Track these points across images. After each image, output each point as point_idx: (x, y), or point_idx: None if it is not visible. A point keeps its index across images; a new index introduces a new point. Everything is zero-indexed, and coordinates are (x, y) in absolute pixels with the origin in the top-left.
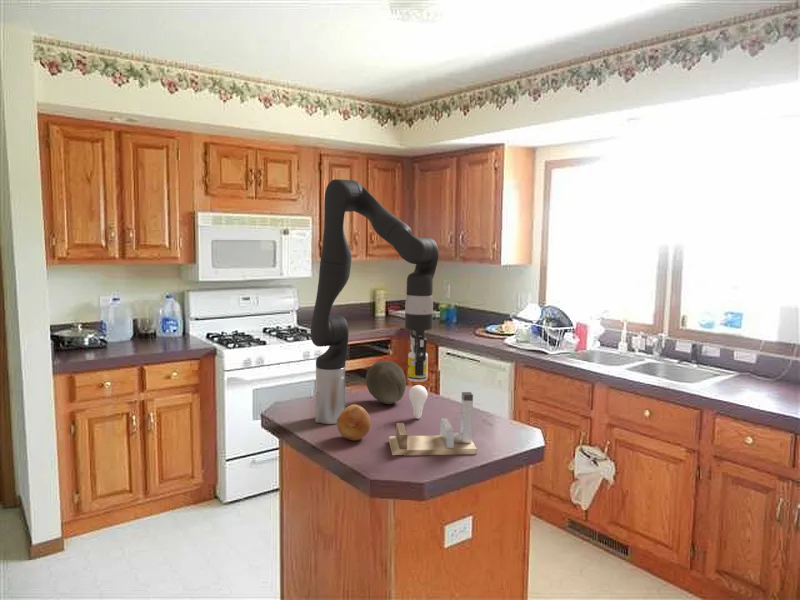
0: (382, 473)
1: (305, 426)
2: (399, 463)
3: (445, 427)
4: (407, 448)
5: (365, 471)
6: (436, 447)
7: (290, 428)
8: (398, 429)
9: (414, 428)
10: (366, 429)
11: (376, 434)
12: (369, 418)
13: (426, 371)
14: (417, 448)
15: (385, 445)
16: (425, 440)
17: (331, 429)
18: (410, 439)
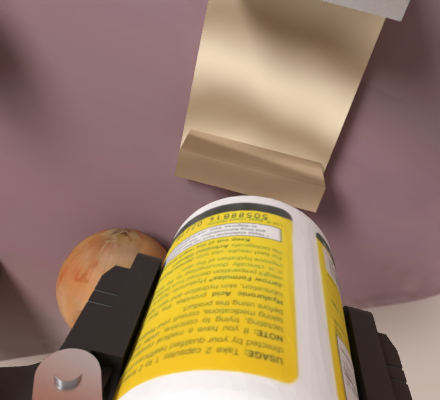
0: (422, 266)
1: (16, 324)
2: (377, 201)
3: (363, 10)
4: (313, 158)
5: (385, 296)
6: (348, 48)
7: (31, 353)
8: (252, 195)
9: (50, 19)
10: (165, 257)
11: (103, 180)
12: (132, 261)
13: (325, 275)
14: (328, 126)
15: (212, 187)
16: (256, 60)
17: (44, 279)
18: (228, 114)
